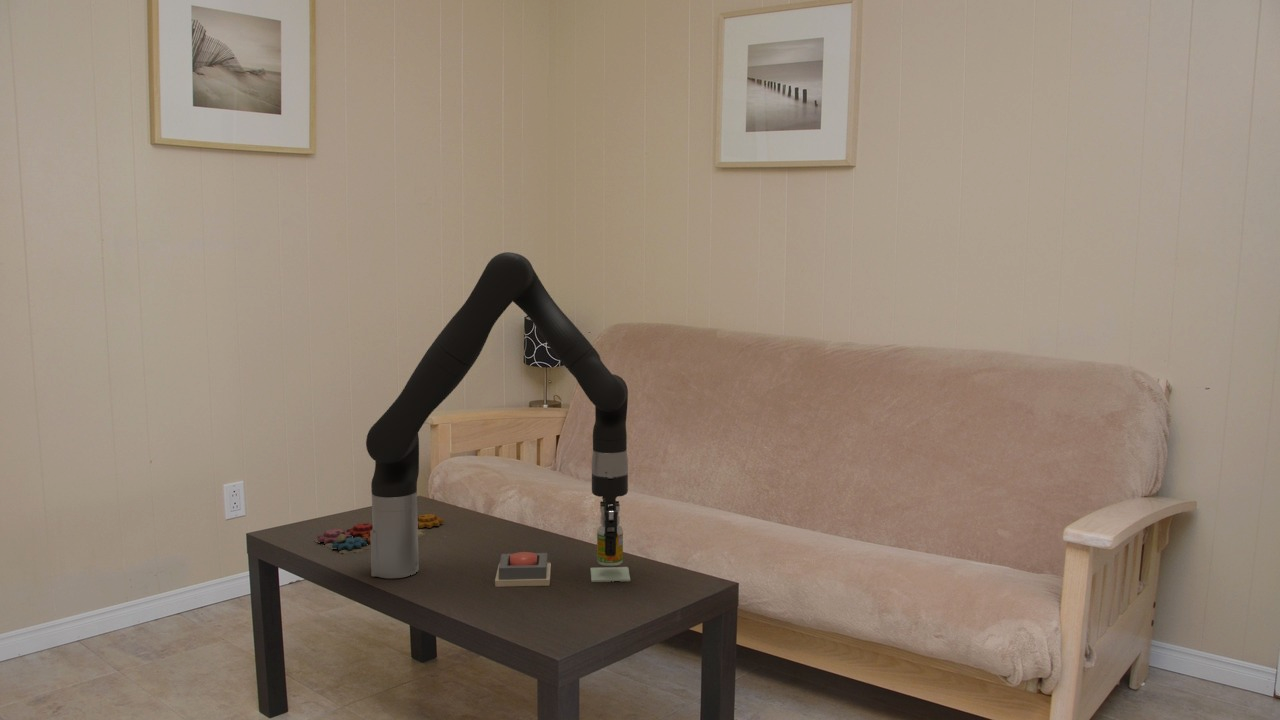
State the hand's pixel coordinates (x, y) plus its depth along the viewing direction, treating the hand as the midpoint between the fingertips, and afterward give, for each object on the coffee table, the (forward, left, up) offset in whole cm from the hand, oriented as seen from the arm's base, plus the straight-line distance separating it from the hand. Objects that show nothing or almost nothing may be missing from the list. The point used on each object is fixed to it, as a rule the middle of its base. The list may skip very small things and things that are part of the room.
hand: (609, 550), depth 201 cm
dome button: (-18, 0, -4) cm, 18 cm away
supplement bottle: (0, 0, -3) cm, 3 cm away
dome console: (-18, 0, -5) cm, 19 cm away
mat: (0, 0, -5) cm, 5 cm away
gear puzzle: (-52, +33, -6) cm, 62 cm away
